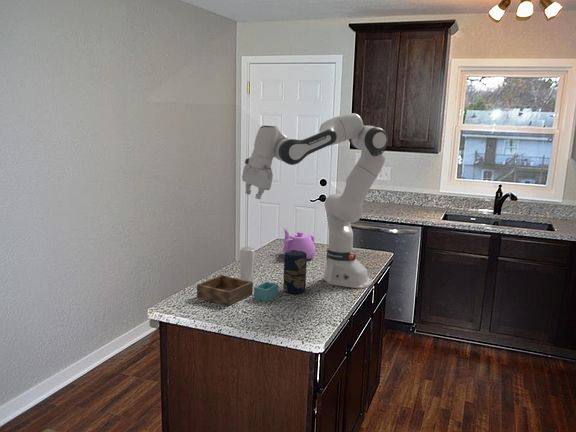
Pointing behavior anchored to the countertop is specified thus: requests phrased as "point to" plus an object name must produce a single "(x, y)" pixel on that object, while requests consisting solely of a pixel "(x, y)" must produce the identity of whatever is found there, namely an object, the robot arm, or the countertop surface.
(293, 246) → the teapot
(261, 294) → the teal crate
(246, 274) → the white cup
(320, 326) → the countertop surface
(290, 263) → the canister
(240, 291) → the walnut crate
